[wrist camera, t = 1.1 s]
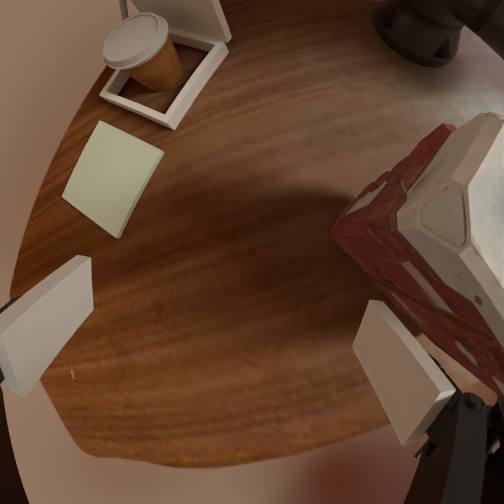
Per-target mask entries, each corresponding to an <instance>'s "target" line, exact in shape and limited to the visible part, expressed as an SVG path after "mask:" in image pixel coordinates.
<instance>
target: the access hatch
mask: <svg viewBox="0 0 504 504" xmlns="http://www.w3.org/2000/svg"><path fill="white" fill-rule="evenodd" d="M119 1H120V8H121V14H122V21H123V20H124V19H126V18H128V11H127V3H126V0H119ZM131 1H132V2H133V3H134V5H135V6H136V7H137V9H138V10H139V11H140V13H144V12H151V13H154V14H156V15H158V16H161V17H163V18H164V19H165V20H166V22H167V24H168V33H169V36H170V38H171V41H172V42H175V43H179V44H183V45H186V46H190V47H194V48H197V49H201V50H204V51H207V52H209V53H208V55H207V56H206V57H205V59H204V60H203V61H202V62H201V64H200V65H199V66H198V68H197V69H196V70H195V72H194V73H193V74H192V76H191V77H190V79H189V80H188V81H187V83H186V84H185V86H184V87H183V88H182V90H181V91H180V93H179V94H178V96H177V97H176V99H175V100H174V102H173V103H172V105H171V106H170V108H169V109H168V111H167V112H166V114H162V113H160V112H157V111H155V110H153V109H150V108H148V107H145V106H143V105H140V104H138V103H135V102H133V101H130V100H128V99H125V98H123V97H120V96H117V95H118V93H119V92H120V90H121V89H122V87H123V86H124V84H125V83H126V82H127V80H128V79H129V77H130V76H129V75H127V74H125V73H124V72H122V71H121V70H119V69H116V71H115V72H114V73H113V75H112V76H111V78H110V79H109V81H108V82H107V84H106V85H105V87H104V88H103V90H102V91H101V93H100V94H99V95H100V96H101V97H102V98H104V99H105V100H107V101H108V102H110V103H113V104H115V105H118V106H120V107H123V108H125V109H127V110H130V111H132V112H134V113H137V114H139V115H141V116H144V117H146V118H148V119H151V120H153V121H155V122H157V123H160V124H162V125H164V126H166V127H168V128H170V129H173V130H175V129H176V127H177V126H178V124H179V123H180V121H181V119H182V118H183V116H184V115H185V113H186V112H187V110H188V109H189V107H190V106H191V104H192V103H193V101H194V100H195V98H196V97H197V95H198V94H199V93H200V91H201V90H202V88H203V87H204V85H205V84H206V83H207V81H208V80H209V78H210V77H211V76H212V74H213V73H214V72H215V70H216V69H217V68H218V66H219V65H220V64H221V62H222V61H223V60H224V58H225V57H226V56H227V54H228V53H229V52H228V49H227V46H226V44H225V42H227V43H228V42H229V41H230V39H231V38H232V36H231V33H230V30H229V27H228V24H227V22H226V19H225V16H224V13H223V10H222V8H221V5H220V2H219V0H131Z"/></svg>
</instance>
